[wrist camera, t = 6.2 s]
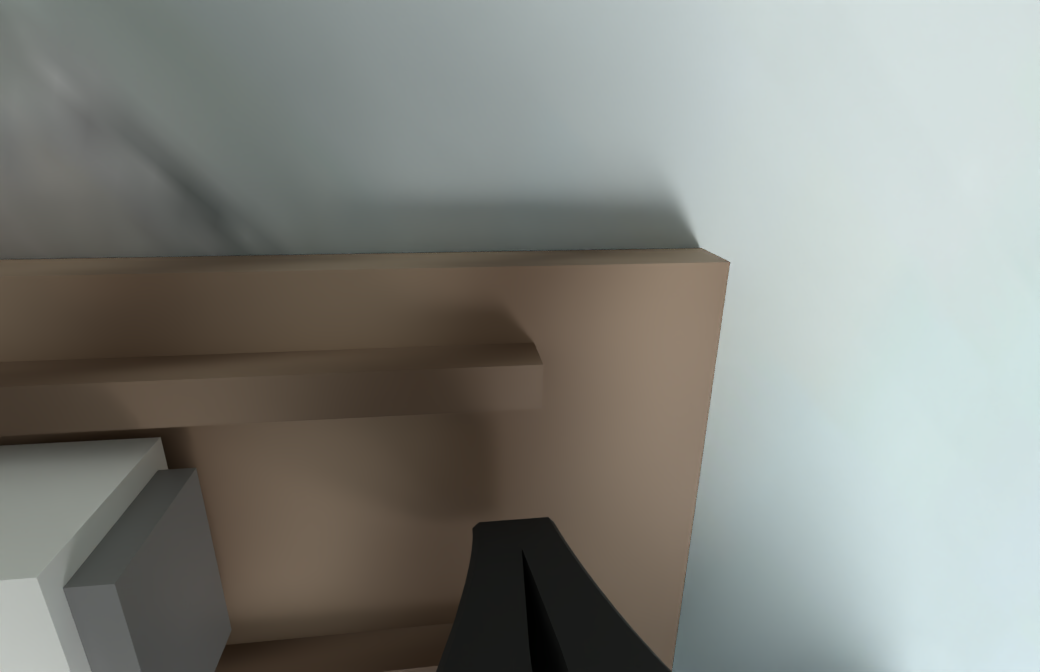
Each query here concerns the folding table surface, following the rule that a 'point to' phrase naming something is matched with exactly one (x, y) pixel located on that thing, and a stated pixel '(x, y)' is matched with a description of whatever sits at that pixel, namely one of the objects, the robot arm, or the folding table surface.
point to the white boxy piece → (106, 561)
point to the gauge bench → (387, 422)
